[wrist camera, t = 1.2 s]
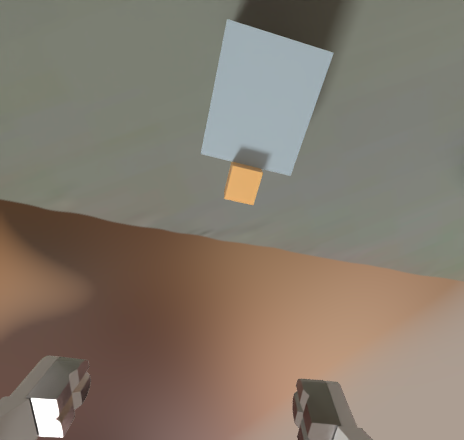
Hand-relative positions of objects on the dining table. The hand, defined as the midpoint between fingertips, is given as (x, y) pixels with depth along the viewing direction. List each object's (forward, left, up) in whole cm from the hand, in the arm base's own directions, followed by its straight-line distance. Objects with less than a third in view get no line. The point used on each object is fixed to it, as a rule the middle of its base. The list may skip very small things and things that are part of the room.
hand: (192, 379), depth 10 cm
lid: (-8, +3, -26) cm, 27 cm away
